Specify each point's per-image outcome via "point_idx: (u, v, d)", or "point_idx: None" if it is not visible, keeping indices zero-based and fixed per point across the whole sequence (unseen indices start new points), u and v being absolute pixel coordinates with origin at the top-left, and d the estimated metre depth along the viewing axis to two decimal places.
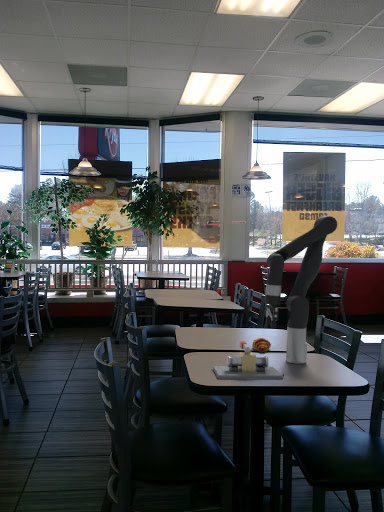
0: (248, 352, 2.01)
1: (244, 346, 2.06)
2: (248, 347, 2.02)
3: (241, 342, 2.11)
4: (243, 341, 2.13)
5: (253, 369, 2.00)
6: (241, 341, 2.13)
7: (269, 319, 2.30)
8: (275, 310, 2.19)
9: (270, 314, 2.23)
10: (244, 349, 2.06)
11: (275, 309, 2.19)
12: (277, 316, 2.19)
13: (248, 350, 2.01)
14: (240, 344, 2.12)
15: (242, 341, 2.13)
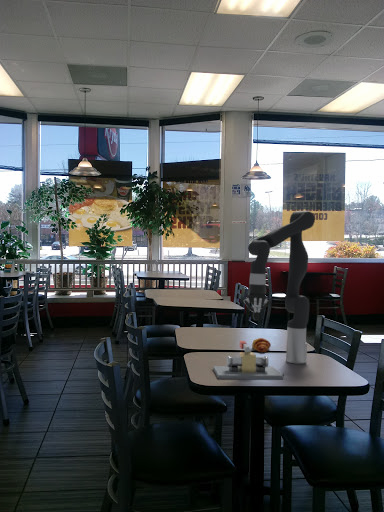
0: (248, 352, 2.01)
1: (244, 346, 2.06)
2: (248, 347, 2.02)
3: (241, 342, 2.11)
4: (243, 341, 2.13)
5: (253, 369, 2.00)
6: (241, 341, 2.13)
7: None
8: None
9: (260, 306, 2.12)
10: (244, 349, 2.06)
11: None
12: None
13: (248, 350, 2.01)
14: (240, 344, 2.12)
15: (242, 341, 2.13)
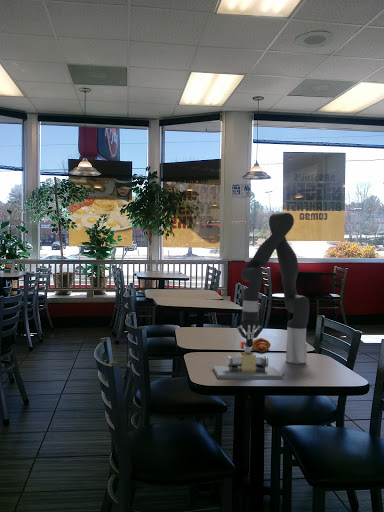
0: (248, 352, 2.01)
1: (244, 346, 2.06)
2: (248, 347, 2.02)
3: (241, 342, 2.11)
4: (243, 341, 2.13)
5: (253, 369, 2.00)
6: (241, 341, 2.13)
7: None
8: None
9: (254, 333, 2.12)
10: (244, 349, 2.06)
11: None
12: None
13: (248, 350, 2.01)
14: (240, 344, 2.12)
15: (242, 341, 2.13)
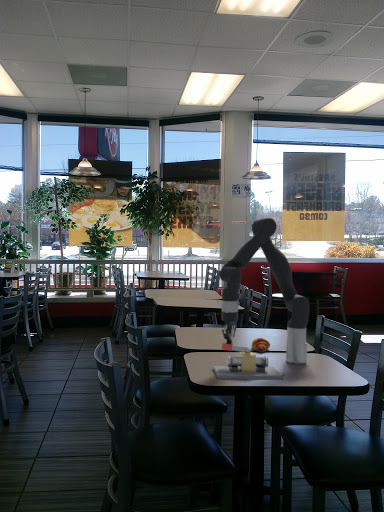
0: (250, 352, 2.02)
1: (238, 347, 2.04)
2: None
3: (229, 344, 2.06)
4: (225, 343, 2.08)
5: (253, 369, 2.00)
6: (224, 343, 2.07)
7: None
8: None
9: (234, 333, 2.11)
10: (239, 350, 2.04)
11: None
12: None
13: (250, 350, 2.02)
14: (225, 346, 2.06)
15: (225, 343, 2.08)
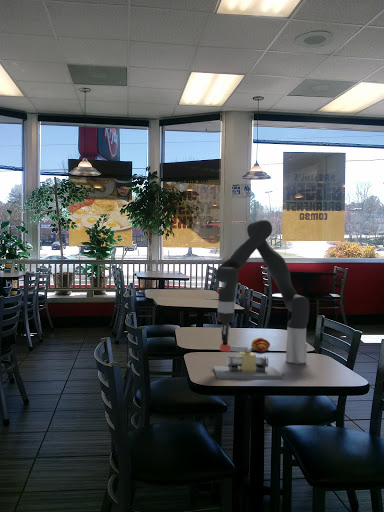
0: (250, 352, 2.02)
1: (238, 348, 2.02)
2: (247, 347, 2.02)
3: (228, 345, 2.03)
4: (223, 344, 2.05)
5: (253, 369, 2.00)
6: (223, 344, 2.04)
7: None
8: None
9: None
10: (238, 351, 2.02)
11: None
12: None
13: (250, 350, 2.02)
14: (224, 348, 2.03)
15: (223, 344, 2.05)
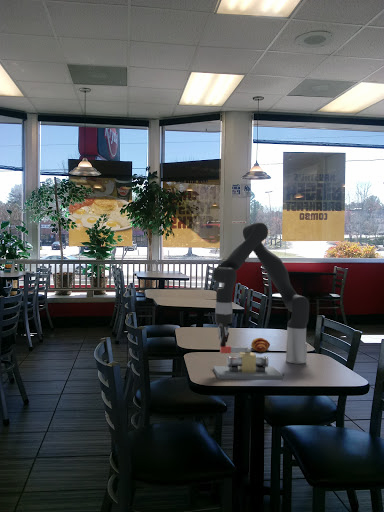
0: None
1: (239, 348, 2.01)
2: (247, 347, 2.02)
3: (229, 346, 2.00)
4: (223, 346, 2.01)
5: (253, 369, 2.00)
6: (223, 346, 2.00)
7: None
8: None
9: None
10: (239, 351, 2.01)
11: None
12: None
13: None
14: (225, 349, 2.00)
15: (223, 346, 2.01)
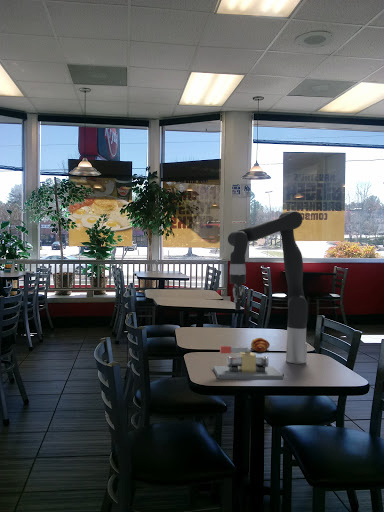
0: None
1: (239, 348, 2.01)
2: (247, 347, 2.02)
3: (229, 346, 2.00)
4: (223, 346, 2.01)
5: (253, 369, 2.00)
6: (223, 346, 2.00)
7: None
8: None
9: None
10: (239, 351, 2.01)
11: None
12: (234, 297, 2.21)
13: None
14: (225, 349, 2.00)
15: (223, 346, 2.01)
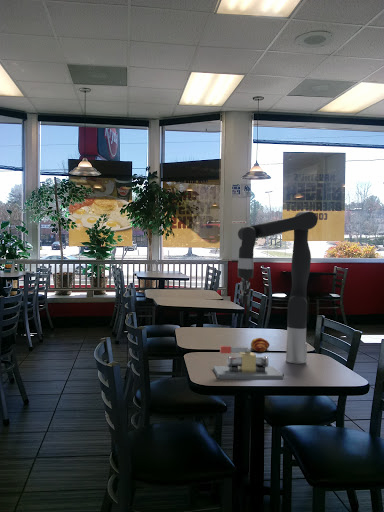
0: None
1: (239, 348, 2.01)
2: (247, 347, 2.02)
3: (229, 346, 2.00)
4: (223, 346, 2.01)
5: (253, 369, 2.00)
6: (223, 346, 2.00)
7: None
8: None
9: None
10: (239, 351, 2.01)
11: None
12: (241, 291, 2.25)
13: None
14: (225, 349, 2.00)
15: (223, 346, 2.01)
